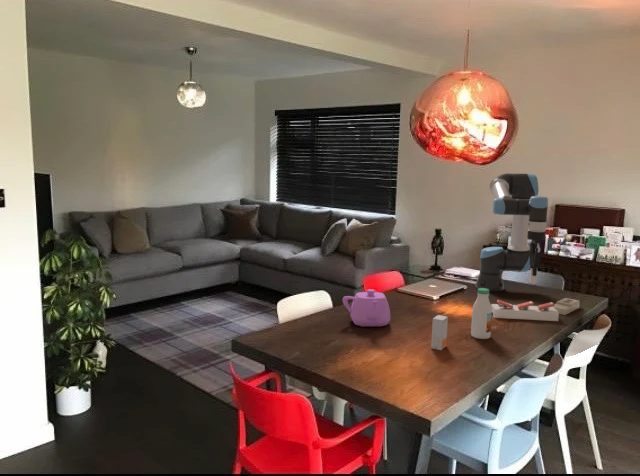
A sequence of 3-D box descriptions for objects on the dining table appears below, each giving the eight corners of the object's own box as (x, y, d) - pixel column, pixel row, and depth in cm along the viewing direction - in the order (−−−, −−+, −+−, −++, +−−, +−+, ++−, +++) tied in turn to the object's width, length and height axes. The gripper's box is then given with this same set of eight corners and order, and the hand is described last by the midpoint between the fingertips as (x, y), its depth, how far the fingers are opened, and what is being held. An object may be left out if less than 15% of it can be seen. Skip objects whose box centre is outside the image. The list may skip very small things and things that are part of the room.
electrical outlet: (550, 304, 253) (565, 297, 265) (549, 312, 254) (564, 305, 266) (565, 307, 248) (579, 300, 260) (564, 315, 248) (579, 308, 261)
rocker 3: (537, 307, 244) (537, 305, 244) (552, 304, 243) (552, 301, 243) (539, 309, 241) (538, 307, 241) (554, 306, 239) (554, 303, 239)
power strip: (475, 311, 253) (476, 300, 252) (552, 315, 248) (553, 304, 247) (478, 316, 244) (479, 306, 243) (558, 321, 239) (559, 310, 238)
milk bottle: (480, 340, 212) (483, 292, 209) (466, 334, 219) (469, 288, 216) (494, 337, 216) (497, 290, 213) (480, 332, 223) (483, 286, 220)
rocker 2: (517, 306, 245) (516, 304, 245) (532, 303, 244) (531, 300, 244) (518, 308, 242) (518, 306, 242) (534, 305, 241) (533, 302, 241)
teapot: (340, 317, 241) (341, 285, 239) (386, 317, 242) (387, 285, 240) (344, 334, 219) (345, 298, 216) (395, 334, 219) (396, 298, 217)
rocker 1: (496, 301, 246) (497, 299, 246) (510, 306, 246) (511, 304, 246) (498, 303, 243) (499, 301, 243) (512, 308, 242) (513, 306, 242)
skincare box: (441, 350, 201) (443, 320, 199) (430, 348, 203) (432, 318, 201) (446, 346, 206) (448, 316, 204) (436, 343, 208) (437, 314, 206)
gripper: (524, 228, 244) (521, 278, 248) (531, 232, 232) (527, 284, 235) (541, 229, 243) (538, 279, 247) (549, 233, 231) (545, 285, 234)
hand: (533, 281), depth 241 cm, fingers closed
